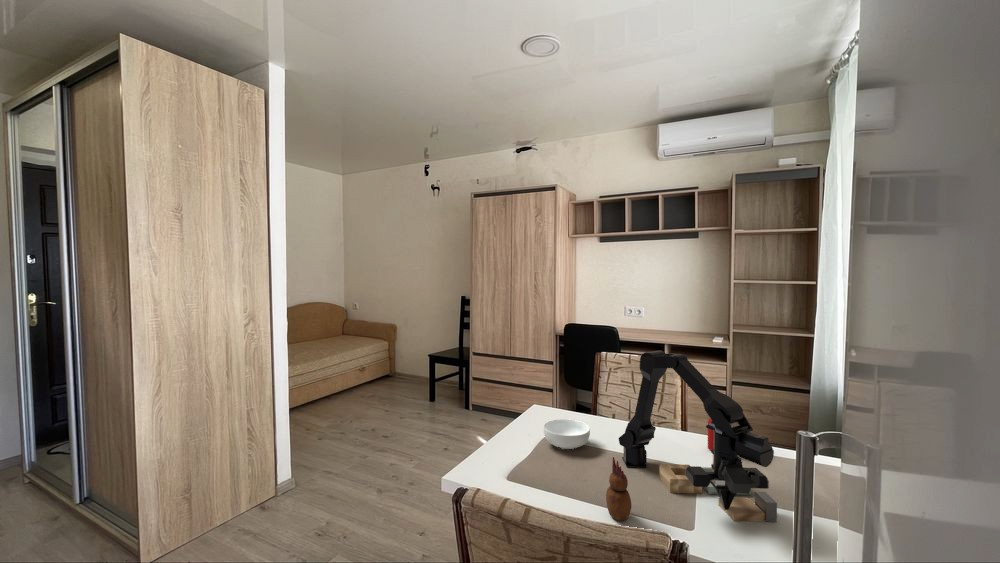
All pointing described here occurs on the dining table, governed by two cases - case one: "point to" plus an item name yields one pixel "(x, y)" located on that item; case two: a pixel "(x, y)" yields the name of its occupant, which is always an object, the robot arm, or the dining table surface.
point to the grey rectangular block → (766, 506)
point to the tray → (710, 488)
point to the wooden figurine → (618, 494)
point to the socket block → (677, 479)
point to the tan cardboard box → (744, 510)
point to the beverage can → (710, 437)
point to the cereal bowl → (566, 433)
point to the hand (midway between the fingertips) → (725, 509)
